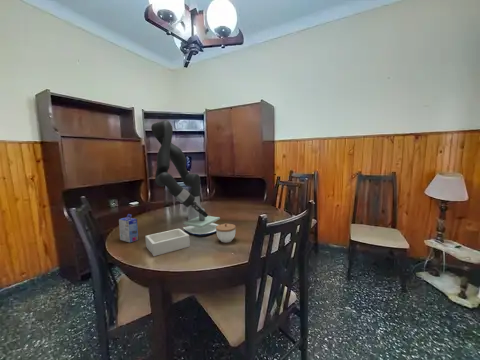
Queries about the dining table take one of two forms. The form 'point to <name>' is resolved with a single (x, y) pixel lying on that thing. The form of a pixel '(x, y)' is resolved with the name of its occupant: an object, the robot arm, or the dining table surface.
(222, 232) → the lidded jar
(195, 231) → the plate
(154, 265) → the dining table surface
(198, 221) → the lid
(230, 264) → the dining table surface
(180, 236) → the open box
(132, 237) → the ink cartridge box
